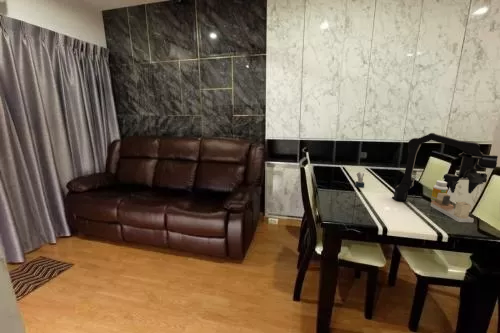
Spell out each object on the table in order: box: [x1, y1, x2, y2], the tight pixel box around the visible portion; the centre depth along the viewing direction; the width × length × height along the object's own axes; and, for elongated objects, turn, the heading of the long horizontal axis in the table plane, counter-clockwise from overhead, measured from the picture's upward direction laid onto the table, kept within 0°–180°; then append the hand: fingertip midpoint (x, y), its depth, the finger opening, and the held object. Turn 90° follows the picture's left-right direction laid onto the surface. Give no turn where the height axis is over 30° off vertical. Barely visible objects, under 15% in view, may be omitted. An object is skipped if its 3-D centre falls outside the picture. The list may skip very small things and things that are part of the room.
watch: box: [354, 171, 365, 189], centre depth 174 cm, size 6×8×11 cm
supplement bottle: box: [430, 180, 449, 202], centre depth 149 cm, size 7×7×13 cm
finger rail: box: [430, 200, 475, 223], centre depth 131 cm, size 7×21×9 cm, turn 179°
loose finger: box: [436, 193, 451, 205], centre depth 137 cm, size 4×5×7 cm
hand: (460, 193), depth 130 cm, fingers open, 9 cm apart
